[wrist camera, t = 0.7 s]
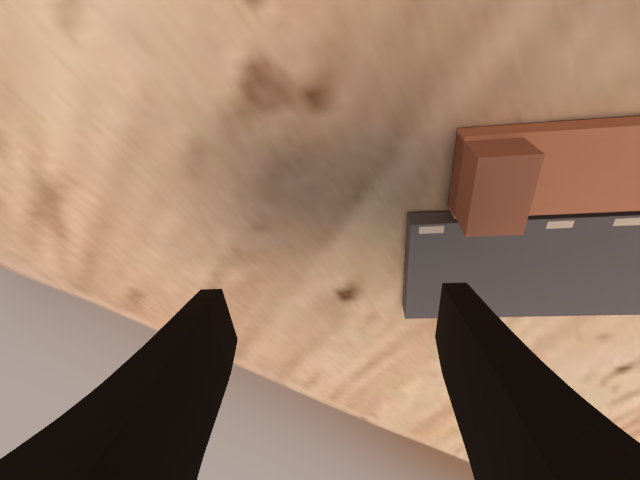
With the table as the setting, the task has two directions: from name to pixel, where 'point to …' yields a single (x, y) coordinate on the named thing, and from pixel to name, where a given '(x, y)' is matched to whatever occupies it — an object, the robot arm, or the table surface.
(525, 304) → the board
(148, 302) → the table surface
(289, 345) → the table surface
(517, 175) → the stub
